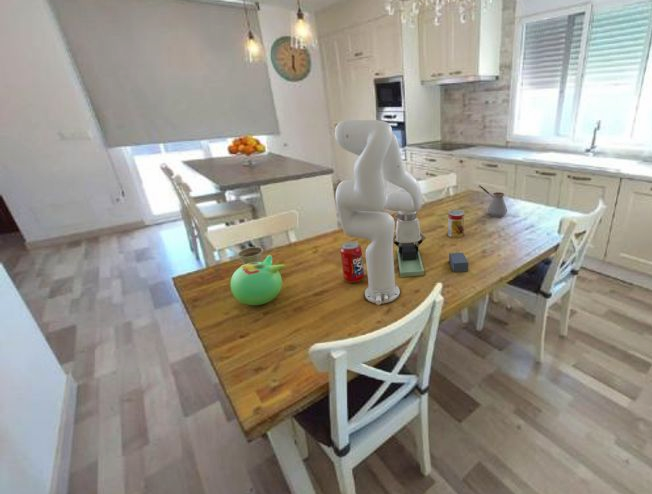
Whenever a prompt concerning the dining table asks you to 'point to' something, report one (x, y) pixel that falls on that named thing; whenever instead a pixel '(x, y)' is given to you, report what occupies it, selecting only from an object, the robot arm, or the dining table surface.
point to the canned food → (455, 223)
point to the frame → (410, 266)
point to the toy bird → (257, 282)
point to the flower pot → (251, 255)
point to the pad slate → (458, 262)
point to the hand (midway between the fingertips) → (408, 253)
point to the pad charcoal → (408, 251)
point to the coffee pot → (496, 204)
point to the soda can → (352, 261)
